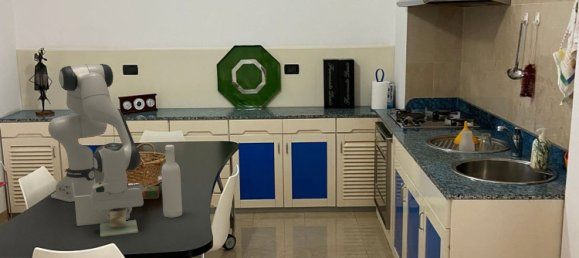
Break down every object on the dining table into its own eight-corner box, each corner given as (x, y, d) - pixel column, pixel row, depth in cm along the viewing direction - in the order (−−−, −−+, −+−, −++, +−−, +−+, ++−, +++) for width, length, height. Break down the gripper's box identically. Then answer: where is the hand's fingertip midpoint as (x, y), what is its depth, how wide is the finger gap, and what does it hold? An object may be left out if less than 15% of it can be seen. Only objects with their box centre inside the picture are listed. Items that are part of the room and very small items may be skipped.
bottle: (173, 210, 253) (170, 142, 248) (186, 213, 249) (183, 144, 243) (159, 215, 247) (155, 146, 241) (172, 219, 242) (169, 148, 237)
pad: (100, 236, 223) (100, 235, 222) (100, 225, 236) (100, 223, 236) (137, 232, 227) (137, 231, 227) (135, 221, 240) (135, 219, 240)
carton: (125, 195, 278) (125, 186, 277) (160, 193, 280) (159, 185, 279) (123, 200, 270) (122, 191, 269) (158, 198, 272) (158, 190, 271)
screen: (76, 225, 235) (74, 197, 233) (77, 224, 237) (74, 196, 234) (128, 220, 241) (126, 192, 239) (128, 219, 243) (126, 191, 240)
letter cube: (110, 227, 227) (109, 212, 226) (110, 222, 233) (109, 207, 232) (126, 225, 229) (125, 210, 228) (126, 220, 235) (125, 206, 234)
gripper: (142, 180, 234) (144, 213, 237) (88, 185, 228) (91, 218, 231) (143, 184, 228) (145, 218, 231) (88, 189, 222) (91, 224, 225)
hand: (118, 218), depth 231 cm, fingers closed on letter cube, 6 cm apart
